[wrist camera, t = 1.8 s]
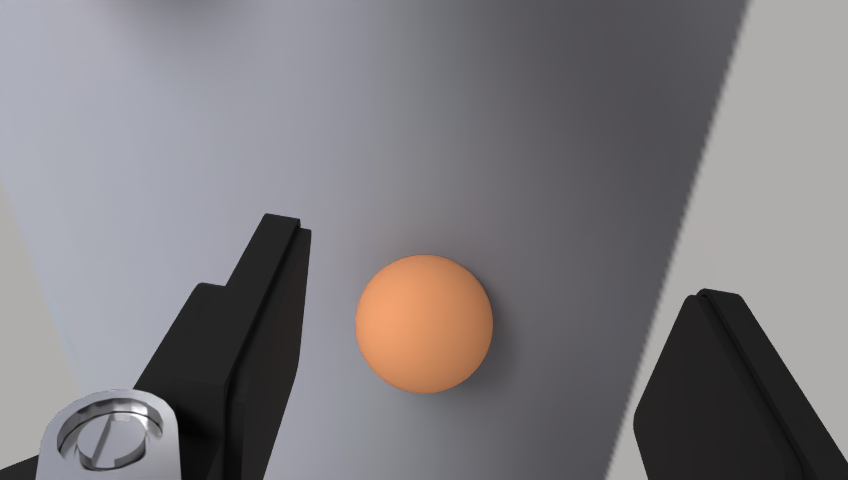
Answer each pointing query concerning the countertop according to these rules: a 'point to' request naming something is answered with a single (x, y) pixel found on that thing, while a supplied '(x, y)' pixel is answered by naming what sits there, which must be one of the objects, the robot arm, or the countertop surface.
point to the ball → (424, 324)
